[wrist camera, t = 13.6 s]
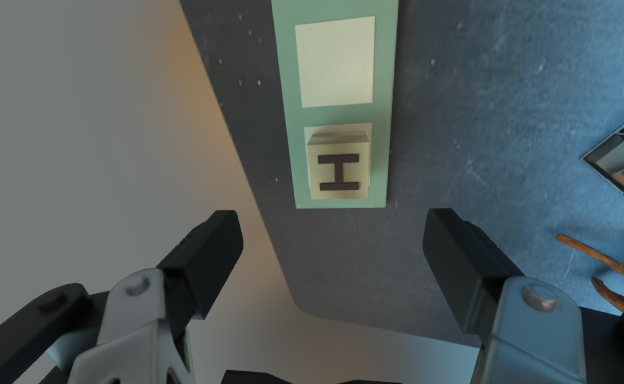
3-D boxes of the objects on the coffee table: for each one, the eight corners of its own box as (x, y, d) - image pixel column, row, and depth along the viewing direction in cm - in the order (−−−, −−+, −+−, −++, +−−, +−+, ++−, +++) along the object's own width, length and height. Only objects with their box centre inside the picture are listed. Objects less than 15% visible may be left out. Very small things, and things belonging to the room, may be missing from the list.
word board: (297, 205, 25) (295, 209, 24) (272, -9, 18) (269, -13, 17) (384, 203, 24) (386, 208, 23) (398, -26, 16) (401, -32, 15)
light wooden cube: (316, 181, 23) (311, 200, 19) (312, 133, 21) (306, 145, 17) (363, 179, 22) (368, 199, 18) (364, 130, 20) (370, 142, 16)
